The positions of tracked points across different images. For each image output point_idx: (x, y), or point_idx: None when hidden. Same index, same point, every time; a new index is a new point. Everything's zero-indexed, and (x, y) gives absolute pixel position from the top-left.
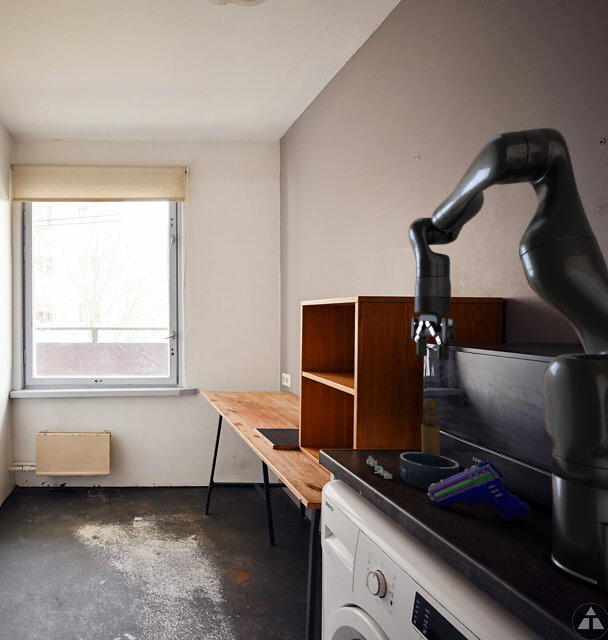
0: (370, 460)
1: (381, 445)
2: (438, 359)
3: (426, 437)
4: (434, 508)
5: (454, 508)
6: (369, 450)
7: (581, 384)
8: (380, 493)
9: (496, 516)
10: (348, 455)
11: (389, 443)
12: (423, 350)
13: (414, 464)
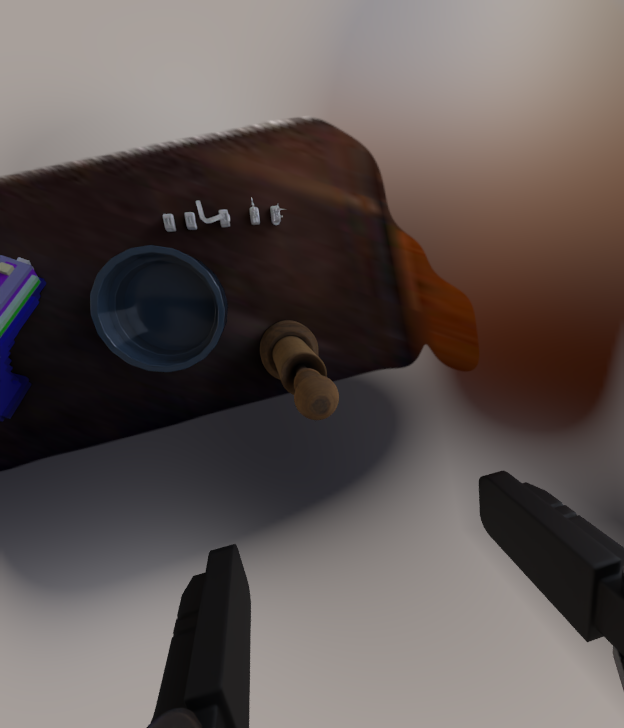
0: (272, 212)
1: (435, 293)
2: (233, 545)
3: (283, 351)
4: None
5: None
6: (387, 249)
7: None
8: (48, 167)
9: (19, 366)
10: (332, 177)
11: (454, 317)
12: (513, 539)
13: (107, 262)
